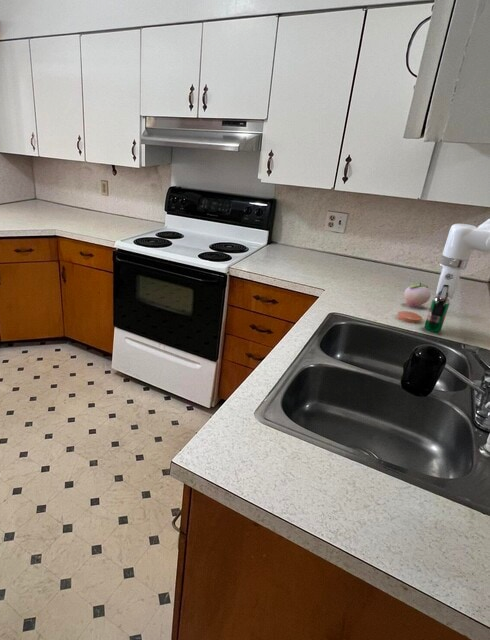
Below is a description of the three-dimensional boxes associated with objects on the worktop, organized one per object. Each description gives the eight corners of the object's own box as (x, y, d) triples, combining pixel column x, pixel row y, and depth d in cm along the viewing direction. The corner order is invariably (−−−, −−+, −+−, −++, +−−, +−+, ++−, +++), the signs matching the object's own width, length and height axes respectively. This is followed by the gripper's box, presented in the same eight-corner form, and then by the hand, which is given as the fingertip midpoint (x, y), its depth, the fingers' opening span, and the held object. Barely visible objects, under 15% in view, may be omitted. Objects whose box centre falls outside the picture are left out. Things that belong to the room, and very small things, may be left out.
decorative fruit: (416, 311, 164) (423, 287, 161) (397, 304, 171) (404, 280, 167) (431, 308, 168) (439, 285, 164) (412, 301, 175) (419, 278, 171)
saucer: (422, 318, 158) (423, 315, 158) (419, 325, 152) (420, 321, 152) (398, 312, 163) (399, 309, 162) (395, 319, 157) (396, 315, 156)
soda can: (420, 328, 150) (430, 296, 145) (429, 326, 152) (439, 295, 147) (434, 334, 146) (445, 302, 141) (443, 332, 148) (454, 300, 143)
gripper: (466, 270, 131) (448, 323, 138) (468, 259, 144) (451, 308, 151) (438, 265, 135) (422, 317, 142) (442, 255, 148) (427, 303, 155)
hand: (437, 312), depth 146 cm, fingers closed on soda can, 5 cm apart
